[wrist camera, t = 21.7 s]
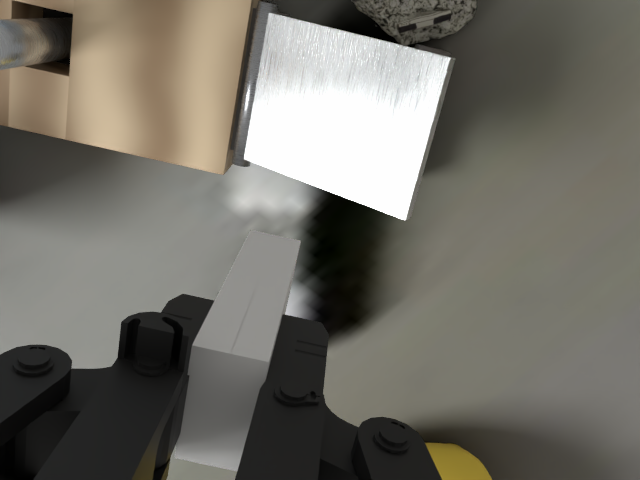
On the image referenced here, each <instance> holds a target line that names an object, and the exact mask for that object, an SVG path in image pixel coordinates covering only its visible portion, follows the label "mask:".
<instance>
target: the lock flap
mask: <svg viewBox="0 0 640 480" xmlns="http://www.w3.org/2000/svg"><path fill="white" fill-rule="evenodd" d="M277 8H278V5H276V4H271V3H267V2H262V1H258V5H257V11H256V17H255V23H254V29H253V35H252V41H251V47H250V53H249V59H248V66H247V72H246V78H245V84H244V90H243V96H242V102H241V108H240V114H239V120H238V127H237V133H236V139H235V145H234V151H233V157H232V163H233V164H235V165H238V166H243V167H248V166H250V162H253V163H256V164H258V165H261V166H263V167H266V168H269V169H271V170H274V171H277V172H279V173H282V174H285V175H287V176H290V177H292V178H295V179H298V180H300V181H303V182H306V183H308V184H311V185H314V186H316V187H319V188H321V189H324V190H327V191H329V192H332V193H335V194H337V195H340V196H342V197H345V198H348V199H350V200H353V201H356V202H358V203H361V204H364V205H366V206H369V207H371V208H374V209H377V210H379V211H382V212H385V213H387V214H390V215H392V216H395V217H398V218H400V219H403V220H407V219H409V218H411V214H412V211H413V207H414V204H415V200H416V197H417V193H418V190H419V186H420V183H421V179H422V176H423V172H424V168H425V165H426V161H427V158H428V154H429V151H430V147H431V144H432V140H433V137H434V133H435V129H436V126H437V122H438V119H439V115H440V112H441V108H442V105H443V101H444V98H445V94H446V90H447V87H448V83H449V80H450V76H451V73H452V69H453V66H454V62H455V59H456V58H452V57H448V56H444V55H440V54H436V53H432V52H428V51H424V50H420V49H416V48H412V47H408V46H404V45H400V44H396V43H392V42H388V41H384V40H380V39H376V38H372V37H368V36H364V35H360V34H355V33H351V32H347V31H343V30H339V29H335V28H331V27H327V26H323V25H319V24H315V23H311V22H307V21H303V20H299V19H295V18H291V17H287V16H283V15H279V14H277Z"/></svg>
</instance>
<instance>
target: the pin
mask: <svg viewBox="0 0 640 480" xmlns="http://www.w3.org/2000/svg"><path fill="white" fill-rule="evenodd" d="M72 24H73V18H32V19H0V70H4V69H10V68H16V67H21V66H27V65H33V64H39V63H45V62H51V61H57V60H63V59H69V58H70V56H71V40H72Z"/></svg>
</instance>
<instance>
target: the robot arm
mask: <svg viewBox="0 0 640 480" xmlns="http://www.w3.org/2000/svg"><path fill="white" fill-rule="evenodd" d="M300 242H301V241H299V240H295V239H290V238H286V237H281V236H277V235H272V234H268V233H263V232H259V231H254V230H250V231H249V233H248V235H247V237H246V239H245V241H244V243H243V245H242V247H241V249H240V251H239V253H238V255H237V257H236V259H235V261H234V263H233V265H232V267H231V269H230V271H229V273H228V275H227V277H226V279H225V281H224V283H223V285H222V287H221V289H220V291H219V293H218V295H217V297H216V299H215V301H213V300H209V299H204V298H200V297H195V296H191V295H186V294H181V295H180V296H178V297H176V298H174V299H172V300H170V301H168V303H167V304H166V306H165V307H164V309H163V310H162V312H161V313H159V312H143V313H137V314H134V315H131V316H128V317H127V318H126V319H125V320H123V321H122V322H121V331H120V341H119V350H118V358H117V360H116V361H115V363H114V364H113V366H112V367H107V368H100V369H71V366H72V360H71V359H70V357H69V355H68V354H67V353H65V352H64V351H62V350H60V349H59V348H55V347H51V346H47V345H27V346H21V347H16V348H14V349H11V350H9V351H7V352H4V353H3V354H1V355H0V480H166V479H167V476H168V470H169V463H170V457H171V454H172V452H173V450H174V447H175V445H176V450H175V457H174V458H177V459H182V460H187V461H191V462H196V463H201V464H205V465H210V466H214V467H219V468H224V469H228V470H233V471H237V475H236V478H235V480H442V478H441V476H440V474H439V472H438V470H437V468H436V465H435V463H434V461H433V459H432V457H431V455H430V453H429V450H428V448H427V446H426V444H425V442H424V440H423V439H422V438H421V436H420V435H419V434H418V432H416V431H415V430H414V429H412V428H411V427H410V426H408V425H407V424H405V423H402V422H400V421H398V420H396V419H391V418H385V417H376V418H370V419H368V420H366V421H364V422H362V423H361V425H360V427H359V428H358V427H356V426H354V425H352V424H350V423H348V422H346V421H344V420H342V419H340V418H339V417H337V416H336V415H335V414H334V413H332V412H331V410H330V409H329V408H328V407H327V406H326V404H325V399H324V395H323V387H324V377H325V367H326V356H327V347H328V337H329V335H328V333H327V331H326V329H325V328H324V326H323V324H322V323H320V322H316V321H311V320H307V319H302V318H298V317H293V316H288V315H285V312H286V307H287V302H288V298H289V293H290V289H291V284H292V279H293V275H294V270H295V265H296V261H297V256H298V252H299V247H300ZM176 443H177V444H176Z"/></svg>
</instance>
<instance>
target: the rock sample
mask: <svg viewBox="0 0 640 480" xmlns="http://www.w3.org/2000/svg"><path fill="white" fill-rule="evenodd" d="M351 1H352V2H353V3H355V6H356V8H357V9H358V10H359V11H361V12H363V13H364V14H366V15H367V16H369V17H370V18H372V19H373V20H374V21H376V22H377V23H378V24H379V26H380V27H381V29H382V30H384V31H385V32H386V33H387V34H388V35H391V36H393V37H394V38H395V39H396V41H397V42H398V43H399V44H400V45H404V46H407V45H410V44H415V43H419V42H424V41H428V40H431V39H434V38H437V39H441V38H443V37H445V36H446V35H450V34H455V33H456V32H457V31H459V30H460V29H461V28H462V27H463V26H465V25H466V24H468V21H471V19H472V18H473V17H474V14H475V11H476V10H477V0H351ZM375 26H376V25H375Z"/></svg>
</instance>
